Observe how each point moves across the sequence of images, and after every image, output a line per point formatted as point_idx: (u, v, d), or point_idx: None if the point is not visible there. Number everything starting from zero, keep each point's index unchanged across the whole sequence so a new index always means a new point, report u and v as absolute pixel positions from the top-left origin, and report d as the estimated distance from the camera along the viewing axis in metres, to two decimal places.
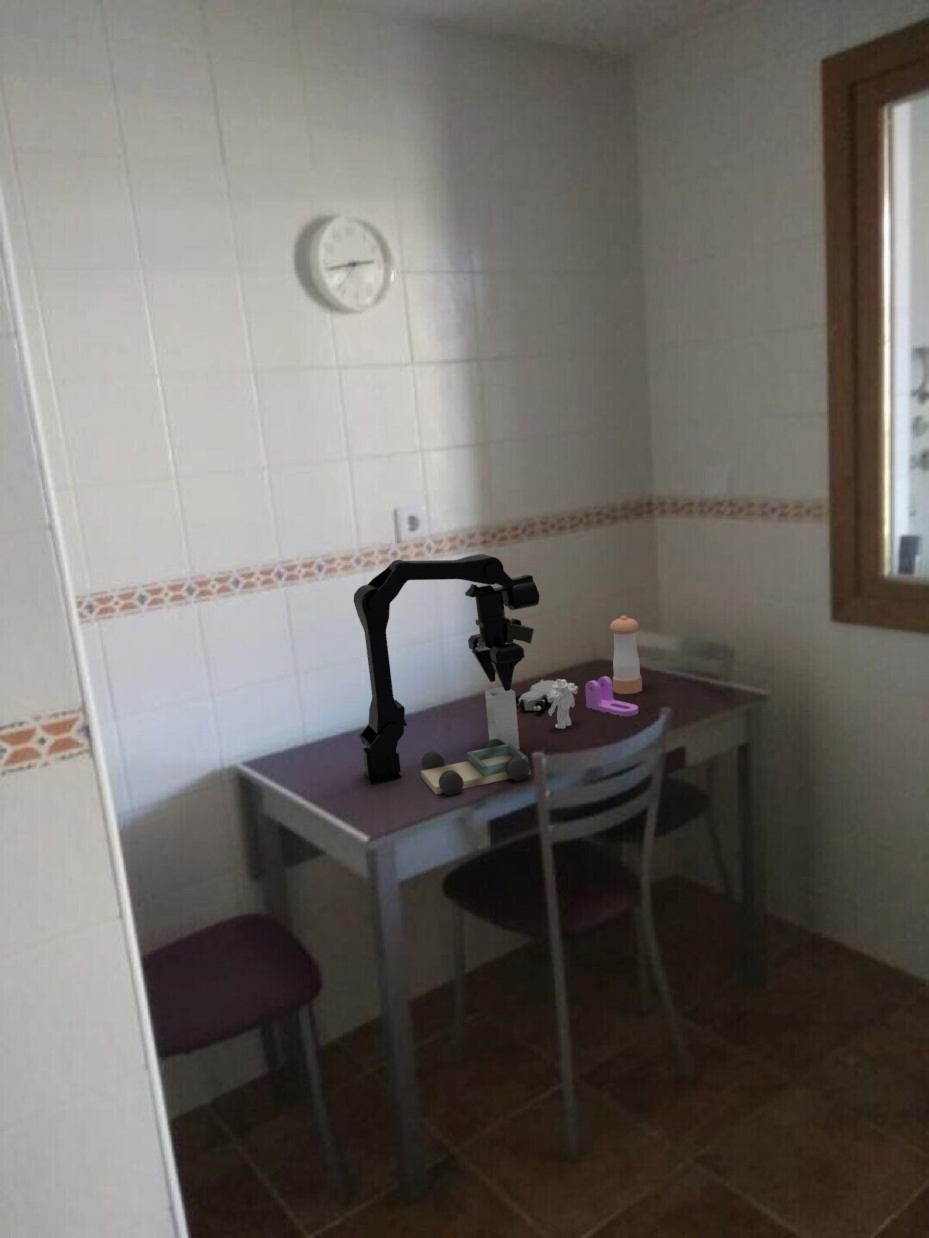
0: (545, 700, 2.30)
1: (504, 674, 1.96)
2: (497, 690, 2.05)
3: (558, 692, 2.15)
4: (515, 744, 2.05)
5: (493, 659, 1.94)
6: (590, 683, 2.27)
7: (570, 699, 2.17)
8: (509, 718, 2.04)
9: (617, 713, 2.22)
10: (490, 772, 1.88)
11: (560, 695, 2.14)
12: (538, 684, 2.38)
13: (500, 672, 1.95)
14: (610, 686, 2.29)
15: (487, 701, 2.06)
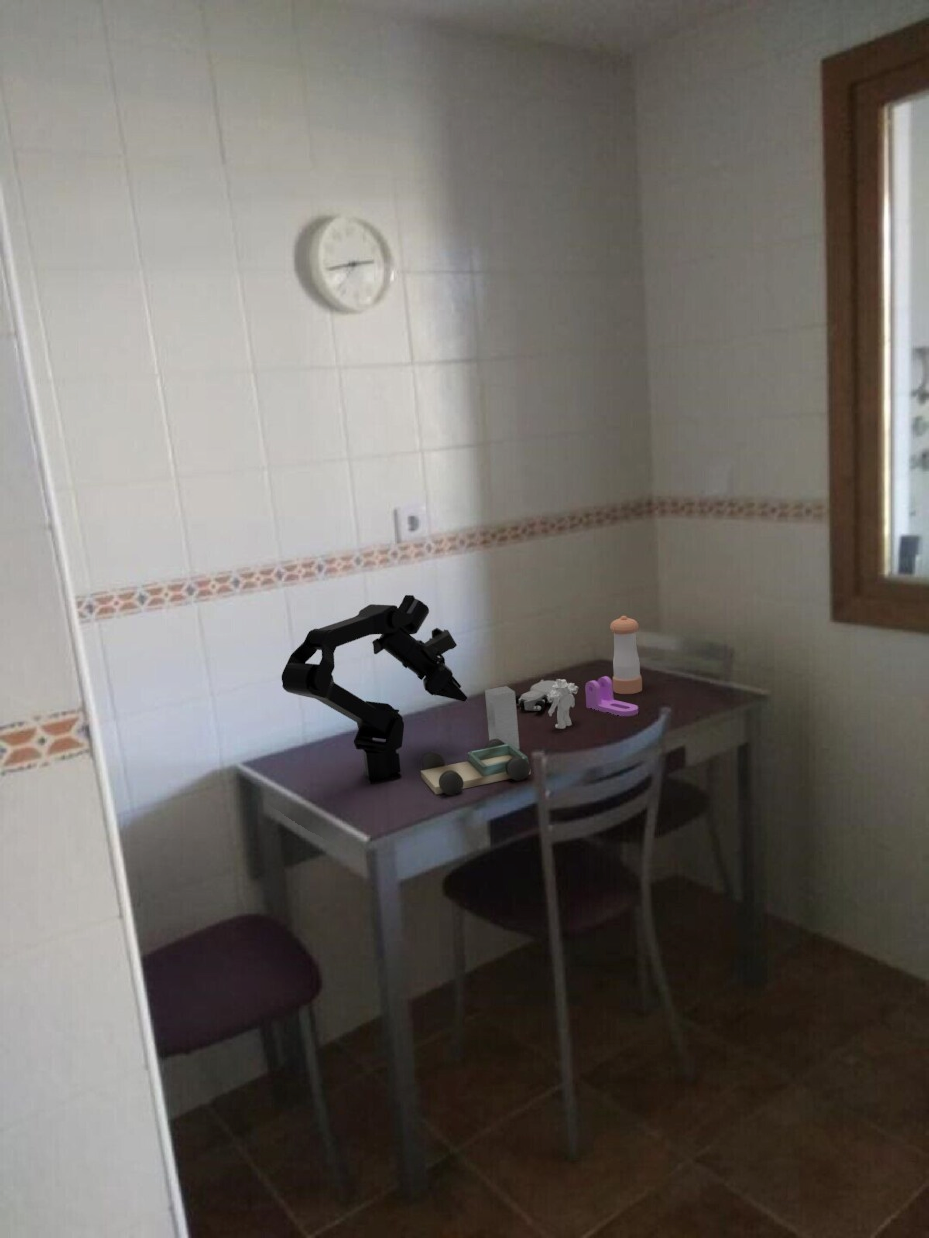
0: (545, 700, 2.30)
1: (450, 692, 1.97)
2: (497, 690, 2.05)
3: (558, 692, 2.15)
4: (515, 744, 2.05)
5: None
6: (590, 683, 2.27)
7: (570, 699, 2.17)
8: (509, 718, 2.04)
9: (617, 713, 2.22)
10: (490, 772, 1.88)
11: (560, 695, 2.14)
12: (538, 684, 2.38)
13: (445, 694, 1.96)
14: (610, 686, 2.29)
15: (487, 701, 2.06)
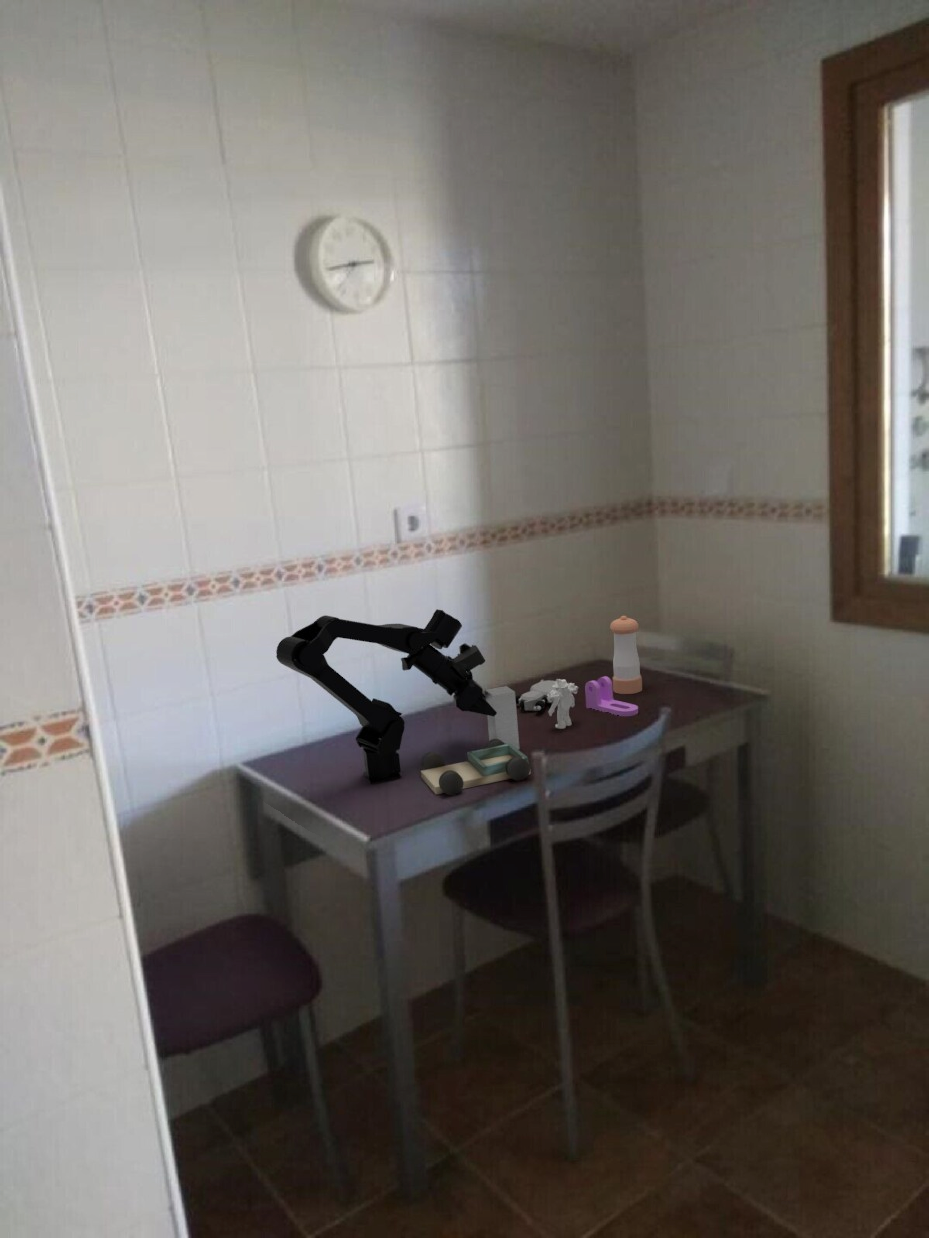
0: (545, 700, 2.30)
1: (480, 708, 1.99)
2: (497, 690, 2.05)
3: (558, 692, 2.15)
4: (515, 744, 2.05)
5: None
6: (590, 683, 2.27)
7: (570, 699, 2.17)
8: (509, 718, 2.04)
9: (617, 713, 2.22)
10: (490, 772, 1.88)
11: (560, 695, 2.14)
12: (538, 684, 2.38)
13: (475, 710, 1.98)
14: (610, 686, 2.29)
15: (487, 701, 2.06)
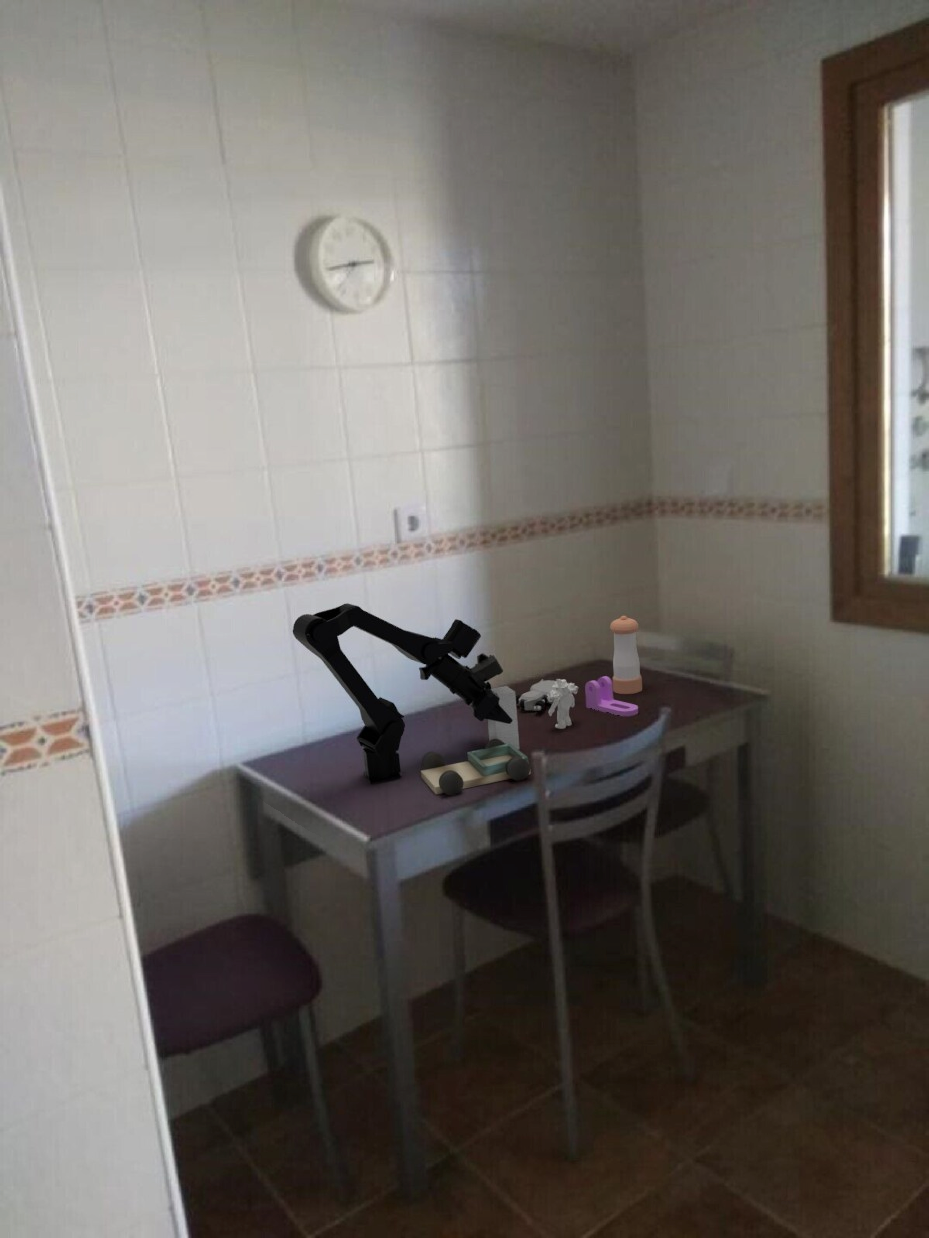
0: (545, 700, 2.30)
1: (496, 715, 2.01)
2: (497, 690, 2.05)
3: (558, 692, 2.15)
4: (515, 744, 2.05)
5: None
6: (590, 683, 2.27)
7: (570, 699, 2.17)
8: None
9: (617, 713, 2.22)
10: (490, 772, 1.88)
11: (560, 695, 2.14)
12: (538, 684, 2.38)
13: (492, 717, 2.01)
14: (610, 686, 2.29)
15: None
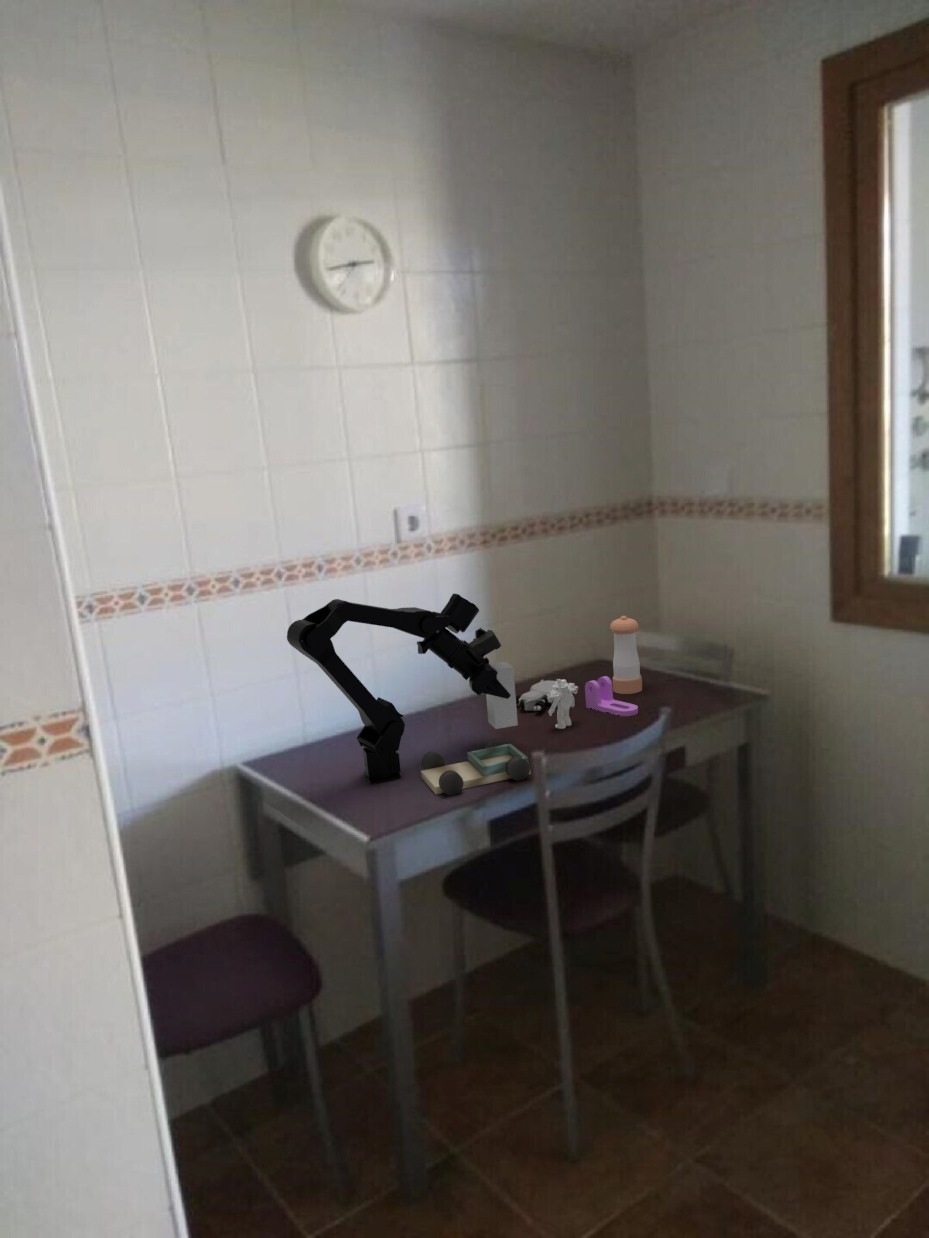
0: (545, 700, 2.30)
1: (494, 690, 2.00)
2: (496, 665, 2.04)
3: (558, 692, 2.15)
4: (513, 720, 2.04)
5: None
6: (590, 683, 2.27)
7: (570, 699, 2.17)
8: None
9: (617, 713, 2.22)
10: (490, 772, 1.88)
11: (560, 695, 2.14)
12: (538, 684, 2.38)
13: (489, 692, 2.00)
14: (610, 686, 2.29)
15: None
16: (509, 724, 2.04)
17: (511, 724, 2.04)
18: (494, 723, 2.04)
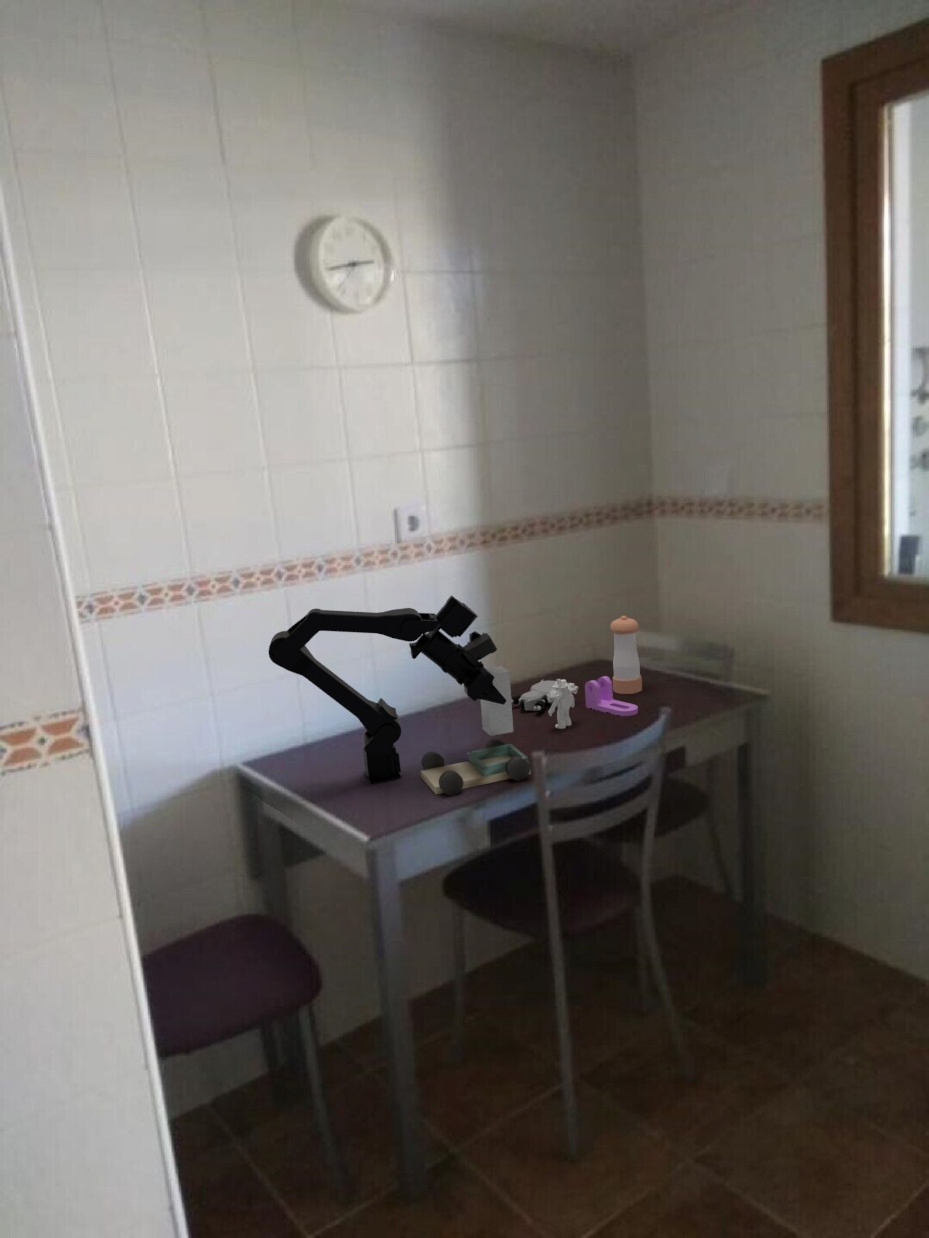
0: (545, 700, 2.30)
1: (490, 695, 1.93)
2: (491, 670, 1.97)
3: (558, 692, 2.15)
4: (509, 726, 1.97)
5: None
6: (590, 683, 2.27)
7: (570, 699, 2.17)
8: None
9: (617, 713, 2.22)
10: (490, 772, 1.88)
11: (560, 695, 2.14)
12: (538, 684, 2.38)
13: (485, 697, 1.92)
14: (610, 686, 2.29)
15: None
16: (504, 731, 1.97)
17: (506, 731, 1.97)
18: (489, 730, 1.96)
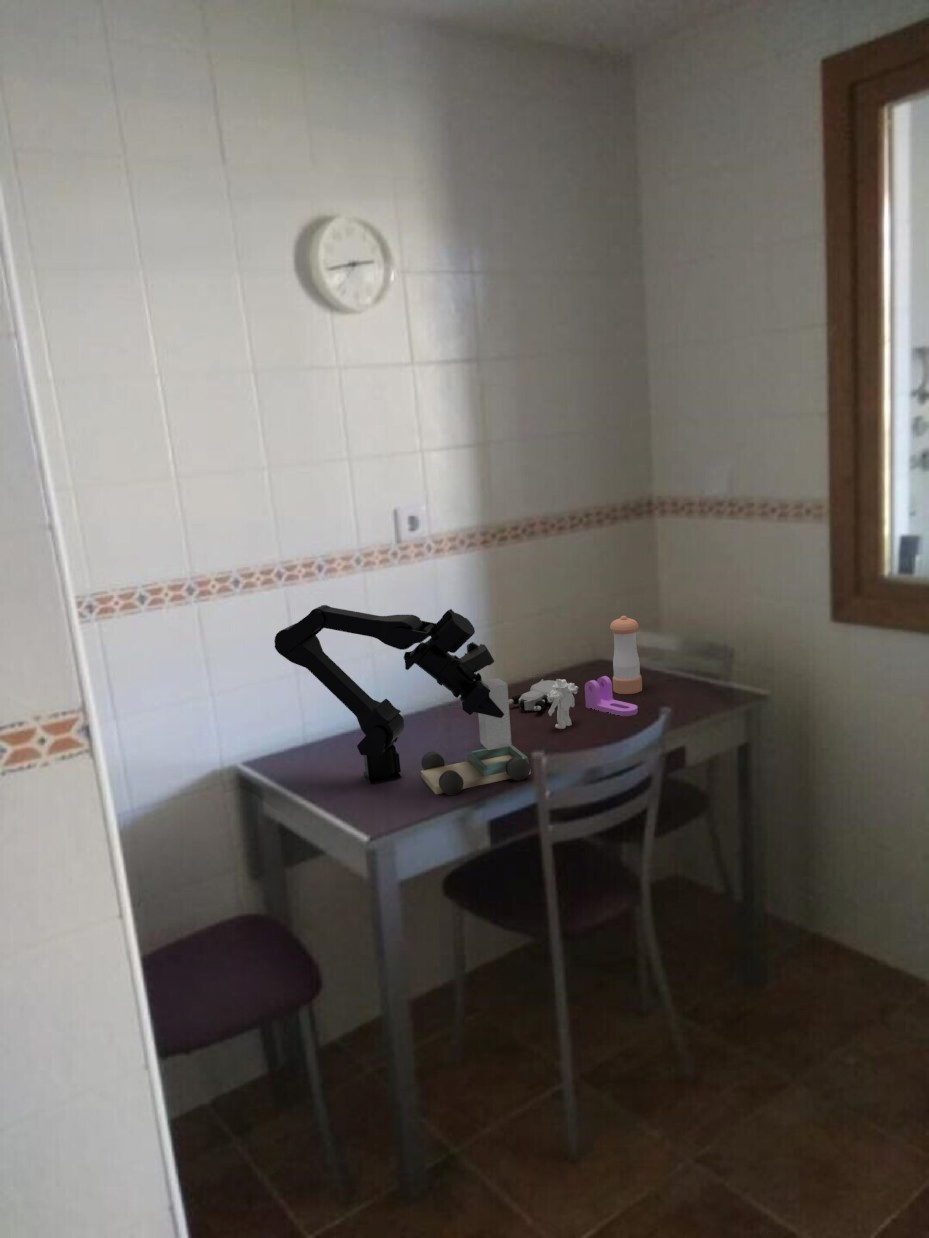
0: (545, 700, 2.30)
1: (487, 709, 1.87)
2: (489, 682, 1.91)
3: (558, 692, 2.15)
4: (507, 740, 1.91)
5: None
6: (589, 683, 2.27)
7: (570, 699, 2.17)
8: None
9: (616, 713, 2.22)
10: (490, 772, 1.88)
11: (560, 695, 2.14)
12: (538, 684, 2.38)
13: (481, 711, 1.87)
14: (609, 686, 2.29)
15: None
16: (502, 745, 1.91)
17: (504, 745, 1.91)
18: (486, 744, 1.91)
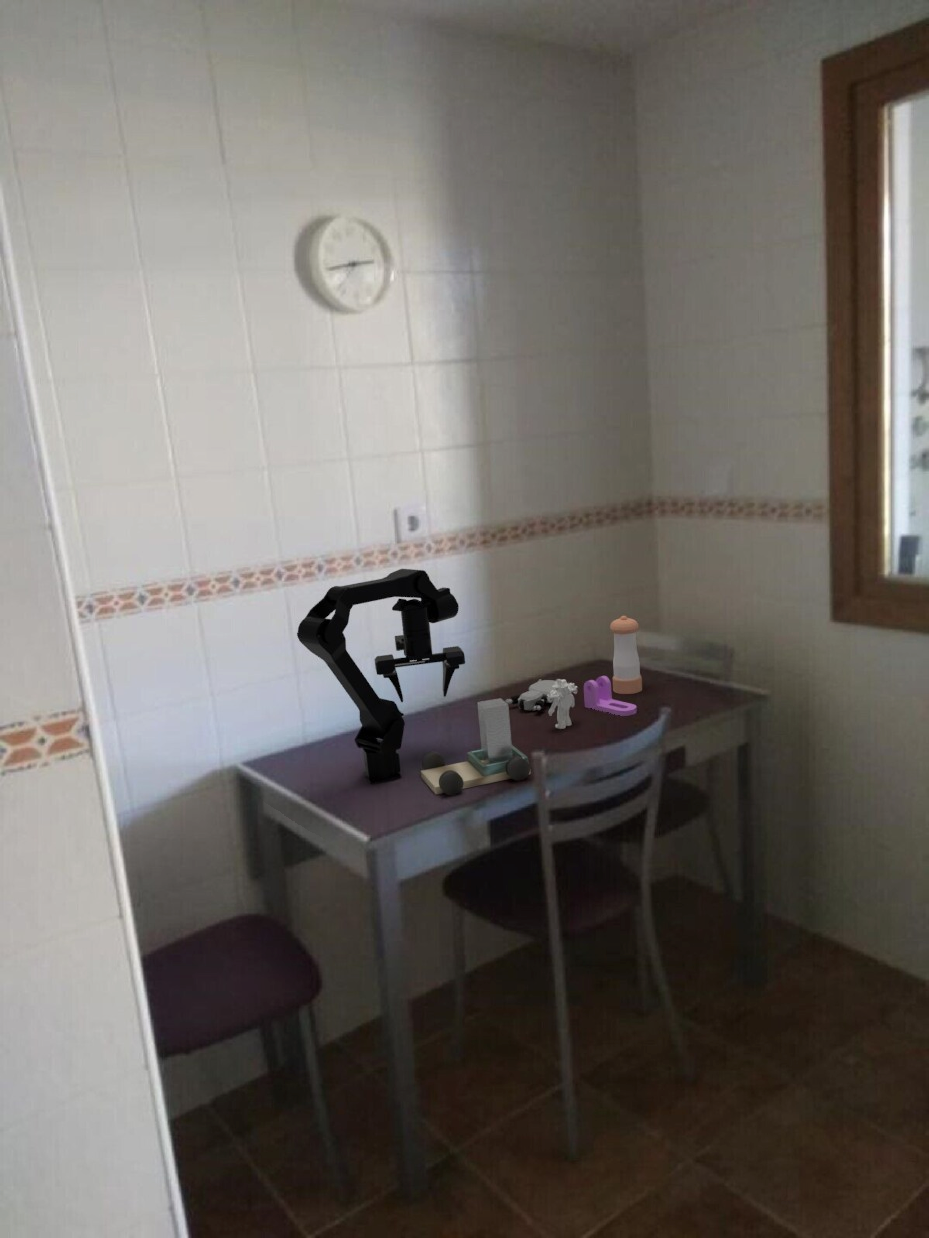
0: (544, 700, 2.31)
1: None
2: (490, 703, 1.92)
3: (558, 692, 2.15)
4: None
5: (455, 663, 2.00)
6: (588, 683, 2.27)
7: (570, 699, 2.17)
8: (502, 733, 1.90)
9: (615, 712, 2.22)
10: (490, 772, 1.88)
11: (560, 695, 2.14)
12: (536, 684, 2.38)
13: None
14: (608, 686, 2.29)
15: (479, 714, 1.93)
16: None
17: None
18: None
